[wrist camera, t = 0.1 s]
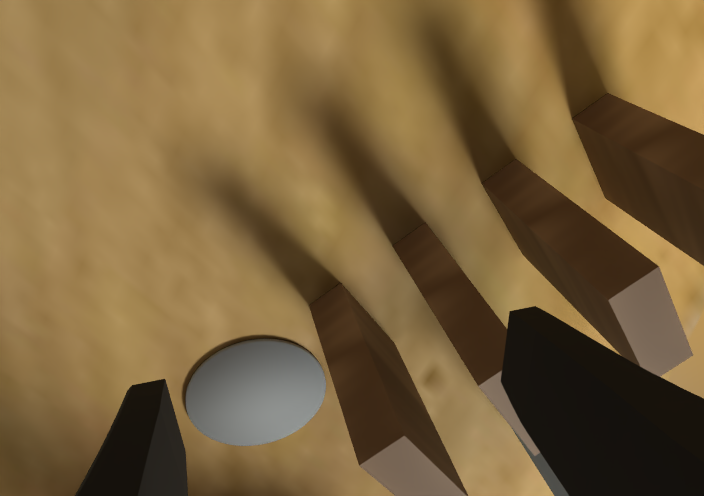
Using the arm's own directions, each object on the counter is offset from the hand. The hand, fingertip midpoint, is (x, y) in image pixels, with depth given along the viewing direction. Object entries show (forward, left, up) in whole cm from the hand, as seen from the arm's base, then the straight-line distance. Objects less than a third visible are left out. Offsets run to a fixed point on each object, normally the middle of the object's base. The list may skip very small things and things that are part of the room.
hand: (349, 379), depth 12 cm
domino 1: (-7, -2, -10) cm, 12 cm away
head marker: (-10, +2, -10) cm, 14 cm away
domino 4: (-3, -10, -10) cm, 14 cm away
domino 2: (-5, -6, -10) cm, 13 cm away
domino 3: (-1, -13, -10) cm, 17 cm away
